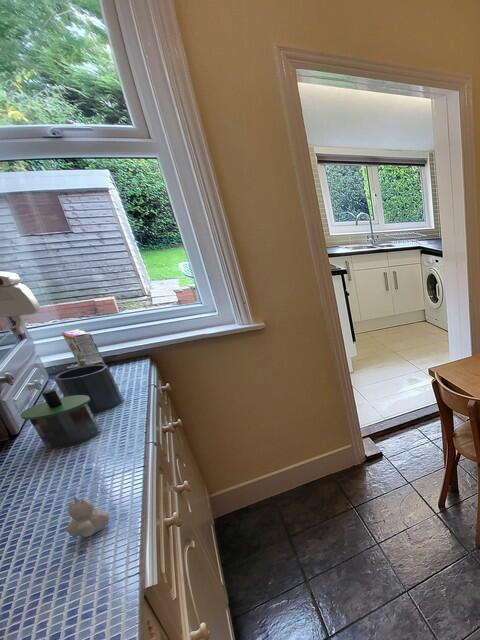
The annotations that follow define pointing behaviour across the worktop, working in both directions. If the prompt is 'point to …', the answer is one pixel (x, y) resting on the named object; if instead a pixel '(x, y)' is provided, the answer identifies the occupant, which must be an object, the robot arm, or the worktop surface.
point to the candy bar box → (82, 346)
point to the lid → (54, 405)
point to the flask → (84, 364)
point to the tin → (91, 386)
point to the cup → (67, 428)
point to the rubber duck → (85, 518)
